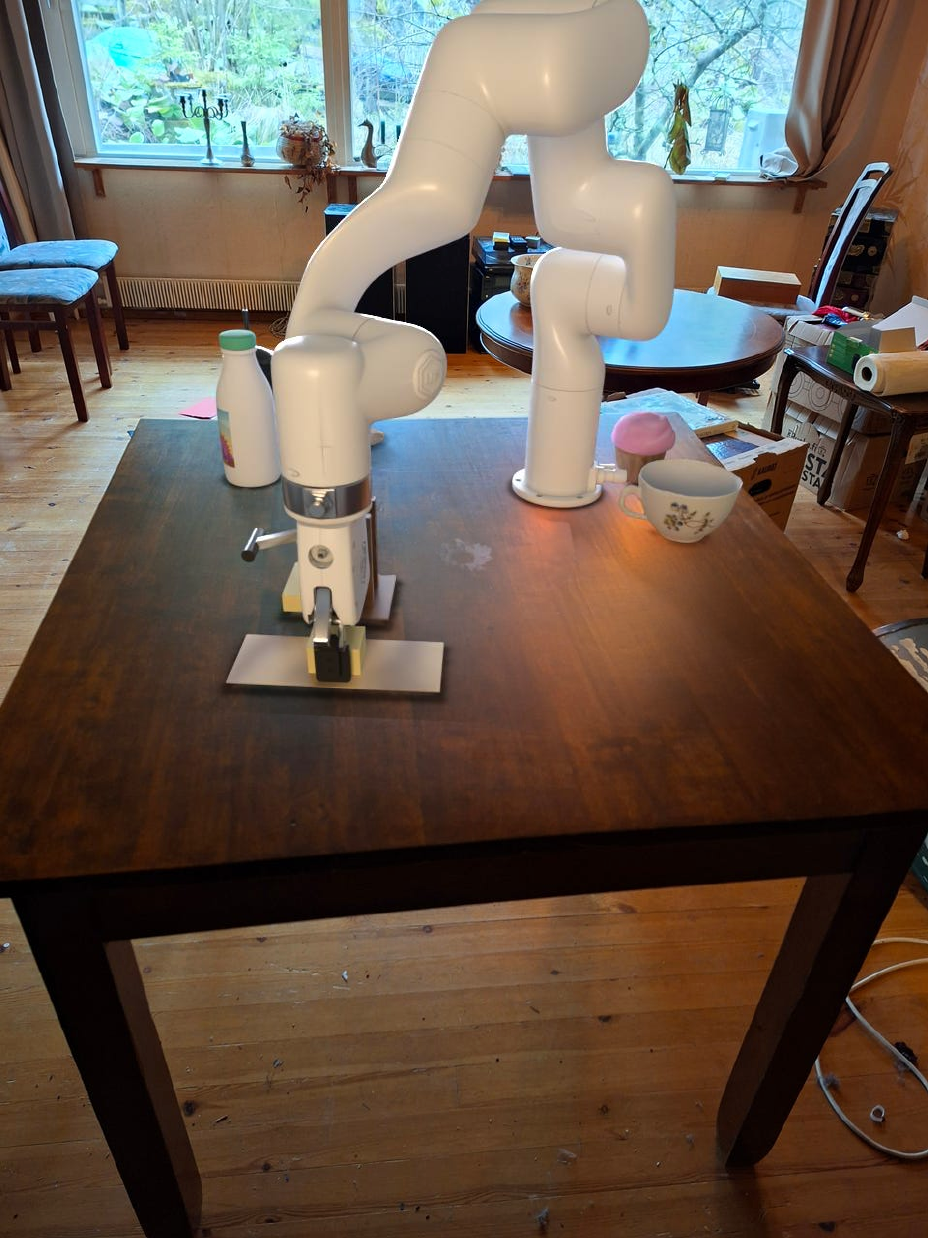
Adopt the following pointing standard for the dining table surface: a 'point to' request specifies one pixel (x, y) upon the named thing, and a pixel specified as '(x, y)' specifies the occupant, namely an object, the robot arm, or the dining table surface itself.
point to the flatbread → (376, 436)
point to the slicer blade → (266, 542)
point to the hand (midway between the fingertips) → (338, 660)
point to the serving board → (381, 670)
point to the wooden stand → (376, 576)
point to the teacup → (683, 497)
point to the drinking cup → (261, 355)
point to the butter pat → (353, 639)
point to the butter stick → (292, 592)
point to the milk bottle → (246, 414)
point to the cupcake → (641, 441)
